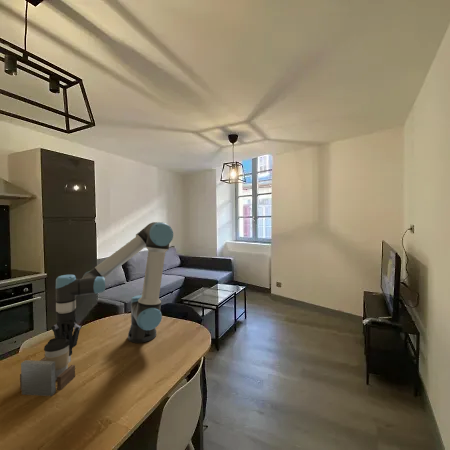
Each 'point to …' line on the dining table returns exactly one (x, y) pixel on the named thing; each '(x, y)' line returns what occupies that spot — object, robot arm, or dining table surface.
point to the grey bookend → (38, 378)
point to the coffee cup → (58, 354)
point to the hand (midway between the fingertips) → (67, 362)
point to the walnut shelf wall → (61, 377)
